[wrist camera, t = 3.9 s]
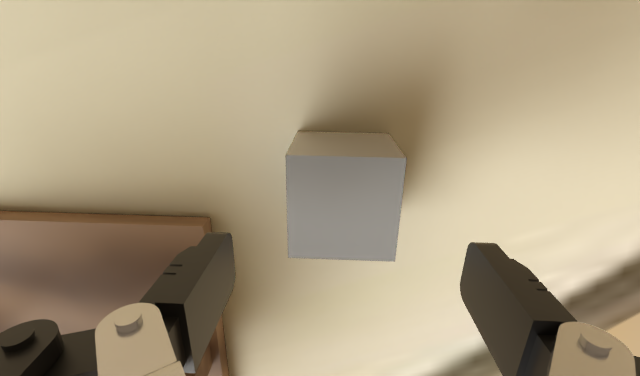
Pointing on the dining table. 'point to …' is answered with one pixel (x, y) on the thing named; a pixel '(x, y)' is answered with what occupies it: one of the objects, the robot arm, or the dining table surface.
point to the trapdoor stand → (92, 268)
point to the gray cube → (344, 195)
